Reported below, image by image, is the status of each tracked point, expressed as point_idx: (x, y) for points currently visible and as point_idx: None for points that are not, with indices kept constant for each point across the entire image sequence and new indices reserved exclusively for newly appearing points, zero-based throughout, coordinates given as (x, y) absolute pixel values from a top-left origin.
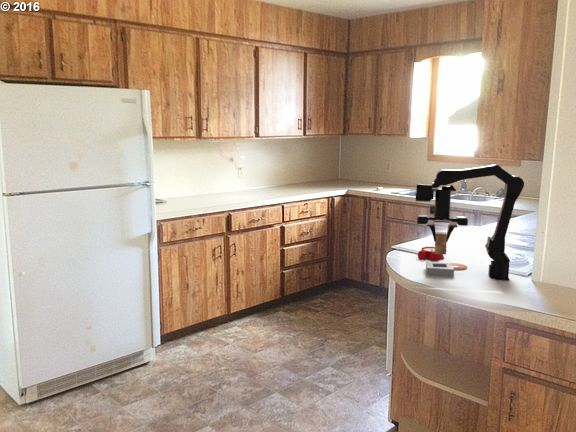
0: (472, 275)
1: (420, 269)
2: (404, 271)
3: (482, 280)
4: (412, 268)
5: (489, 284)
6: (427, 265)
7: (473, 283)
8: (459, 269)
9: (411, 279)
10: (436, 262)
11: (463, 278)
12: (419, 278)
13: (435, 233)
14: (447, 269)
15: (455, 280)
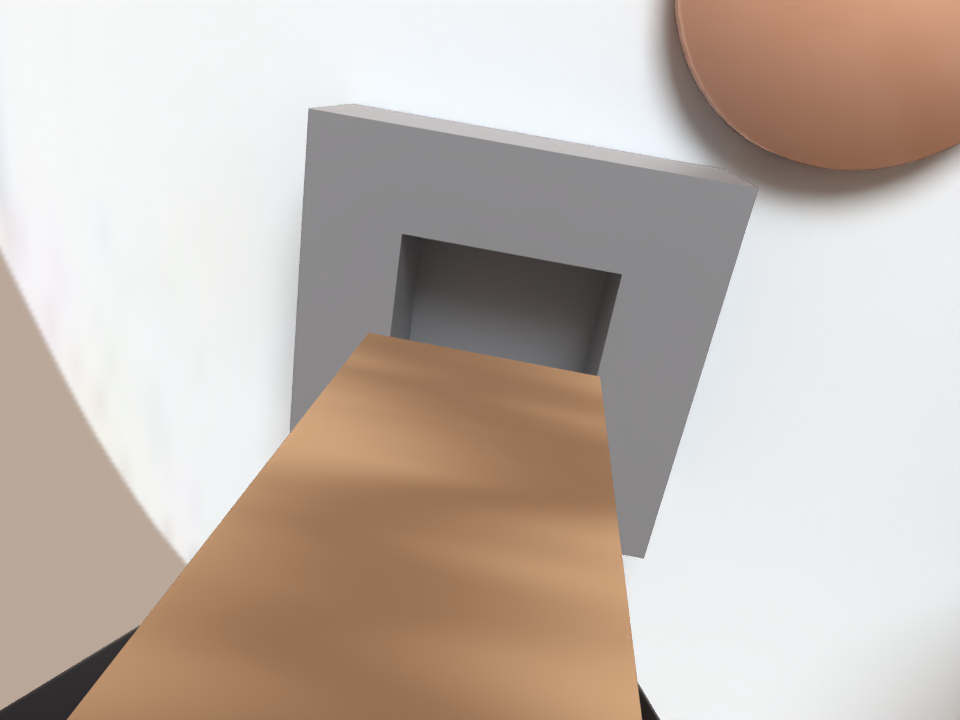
0: (944, 372)
1: (282, 69)
2: (67, 191)
3: (952, 569)
4: (168, 12)
5: (945, 692)
6: (305, 361)
7: (782, 656)
8: (865, 169)
9: (158, 511)
10: (483, 169)
11: (752, 493)
12: (241, 481)
13: (103, 681)
14: None
15: (624, 558)
